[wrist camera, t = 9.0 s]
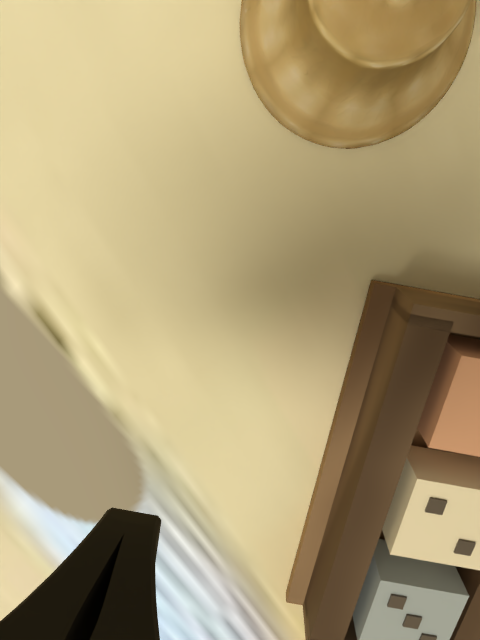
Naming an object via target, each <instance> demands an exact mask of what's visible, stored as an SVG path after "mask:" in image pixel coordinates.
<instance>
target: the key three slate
mask: <svg viewBox="0 0 480 640" xmlns="http://www.w3.org/2000/svg"><path fill="white" fill-rule="evenodd" d="M468 598H469V594H468V592H467V590H466V588H465V586H464V584H463V582H462V580H461V577H460V575H459V573H458V571H457V569H456V567H455V566H452V565H447V564H441V563H435V562H430V561H424V560H418V559H413V558H407V557H402V556H396V555H390V553H389V550H388V546H387V543H386V540H383V539H379V540H378V543H377V546H376V549H375V552H374V554H373V557H372V560H371V563H370V566H369V569H368V572H367V575H366V578H365V581H364V583H363V586H362V589H361V592H360V595H359V598H358V601H357V604H356V607H355V610H354V612H353V621H354V626H355V631H356V636H357V640H450V638H451V635H452V633H453V631H454V629H455V627H456V624H457V622H458V620H459V618H460V616H461V613H462V611H463V609H464V607H465V604H466V602H467V600H468Z"/></svg>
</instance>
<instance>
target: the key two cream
mask: <svg viewBox="0 0 480 640" xmlns="http://www.w3.org/2000/svg"><path fill="white" fill-rule="evenodd" d="M382 531H383V534H384V537H385V540H386V543H387V546H388V550H389V553H390V555H396V556H402V557H407V558H413V559H418V560H424V561H430V562H435V563H441V564H447V565H452V566H458V567H463V568H469V569H475V570H480V458H479V457H474V456H468V455H463V454H457V453H451V452H446V451H440V450H435V449H429V448H424V447H418V446H412V445H411V447H410V450H409V453H408V456H407V459H406V462H405V465H404V467H403V470H402V473H401V476H400V479H399V482H398V485H397V488H396V491H395V494H394V496H393V499H392V502H391V505H390V508H389V511H388V514H387V517H386V520H385V523H384V525H383V528H382Z"/></svg>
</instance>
